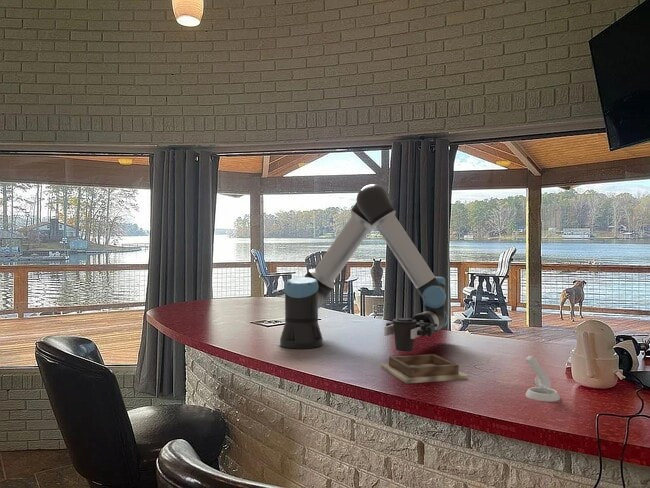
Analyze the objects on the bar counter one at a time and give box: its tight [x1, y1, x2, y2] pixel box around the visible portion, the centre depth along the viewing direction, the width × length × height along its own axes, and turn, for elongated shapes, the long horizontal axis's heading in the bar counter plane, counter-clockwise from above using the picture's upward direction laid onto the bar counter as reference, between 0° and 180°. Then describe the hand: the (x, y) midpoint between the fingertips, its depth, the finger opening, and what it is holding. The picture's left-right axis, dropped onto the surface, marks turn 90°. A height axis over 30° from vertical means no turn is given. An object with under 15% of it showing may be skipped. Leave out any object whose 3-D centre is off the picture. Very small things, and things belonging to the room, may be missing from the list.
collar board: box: [380, 353, 469, 384], centre depth 153 cm, size 18×18×4 cm
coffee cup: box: [391, 317, 418, 352], centre depth 173 cm, size 8×8×10 cm
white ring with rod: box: [525, 355, 561, 403], centre depth 130 cm, size 8×12×7 cm
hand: (398, 332), depth 169 cm, fingers closed on coffee cup, 8 cm apart
